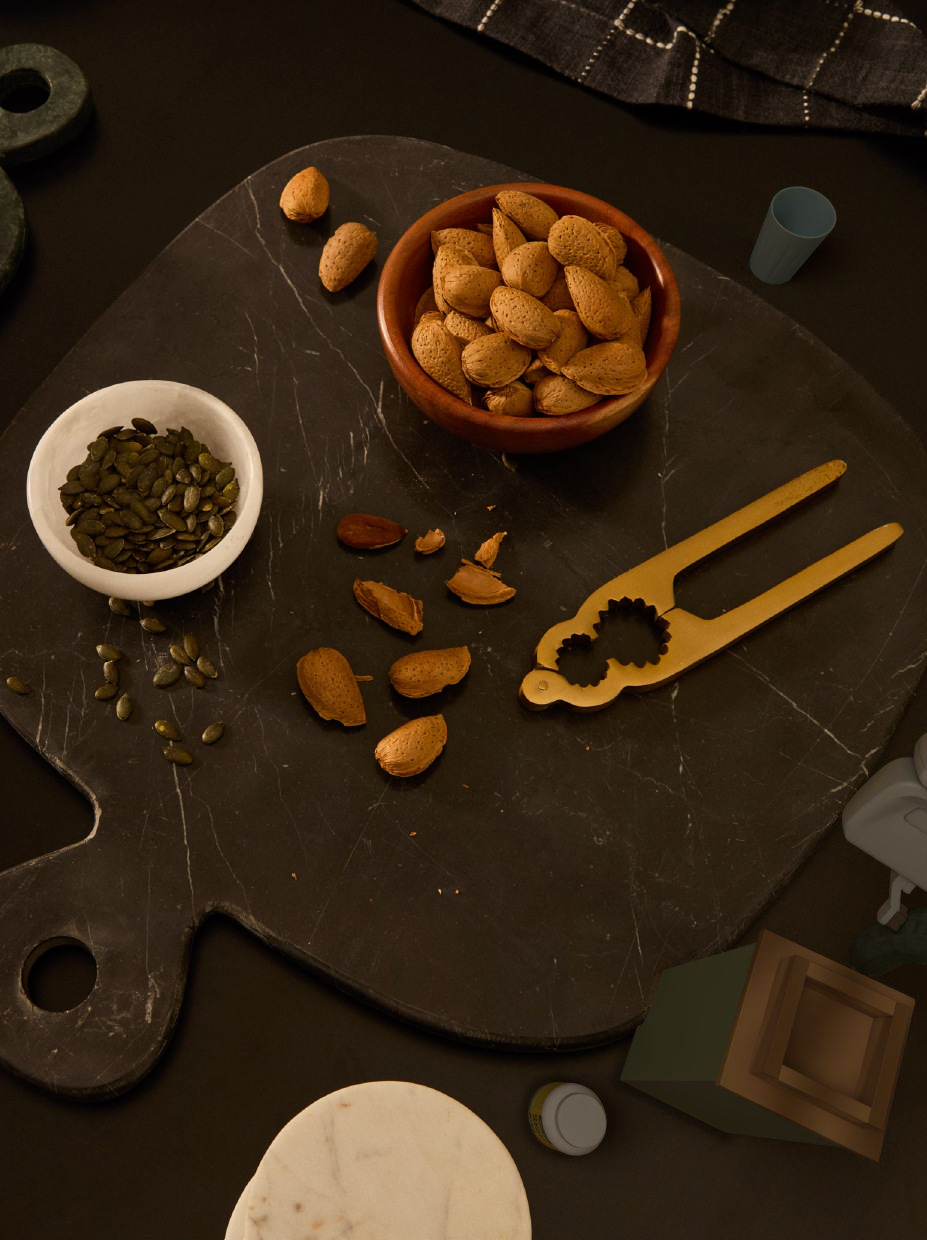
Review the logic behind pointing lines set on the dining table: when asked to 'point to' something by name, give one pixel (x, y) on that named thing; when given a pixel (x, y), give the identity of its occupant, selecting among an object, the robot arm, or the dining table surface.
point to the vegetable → (890, 946)
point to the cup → (791, 233)
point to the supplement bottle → (567, 1118)
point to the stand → (701, 1048)
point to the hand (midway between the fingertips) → (919, 946)
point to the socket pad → (817, 1044)
